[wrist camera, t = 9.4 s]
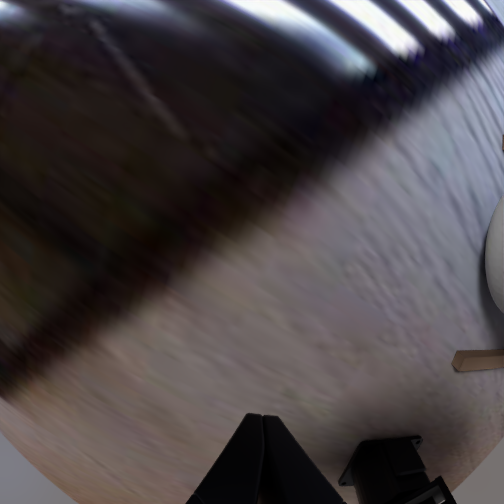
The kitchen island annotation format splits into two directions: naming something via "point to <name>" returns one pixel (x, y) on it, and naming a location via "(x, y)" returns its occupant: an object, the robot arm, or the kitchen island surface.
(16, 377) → the kitchen island surface
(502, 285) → the teacup
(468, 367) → the frame
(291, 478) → the robot arm
